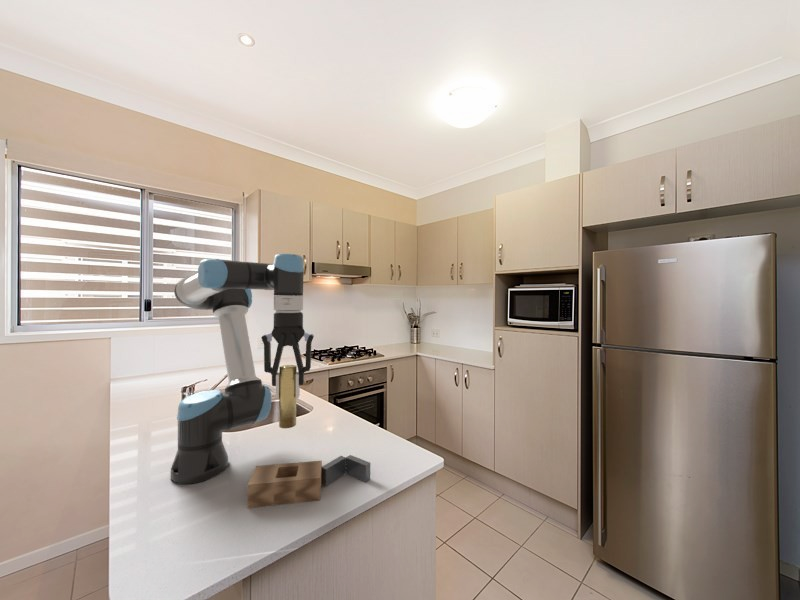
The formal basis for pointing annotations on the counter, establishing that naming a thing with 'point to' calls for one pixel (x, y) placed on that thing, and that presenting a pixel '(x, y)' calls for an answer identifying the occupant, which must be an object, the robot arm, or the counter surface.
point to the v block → (345, 469)
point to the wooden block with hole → (285, 484)
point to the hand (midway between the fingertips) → (287, 396)
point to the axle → (287, 396)
